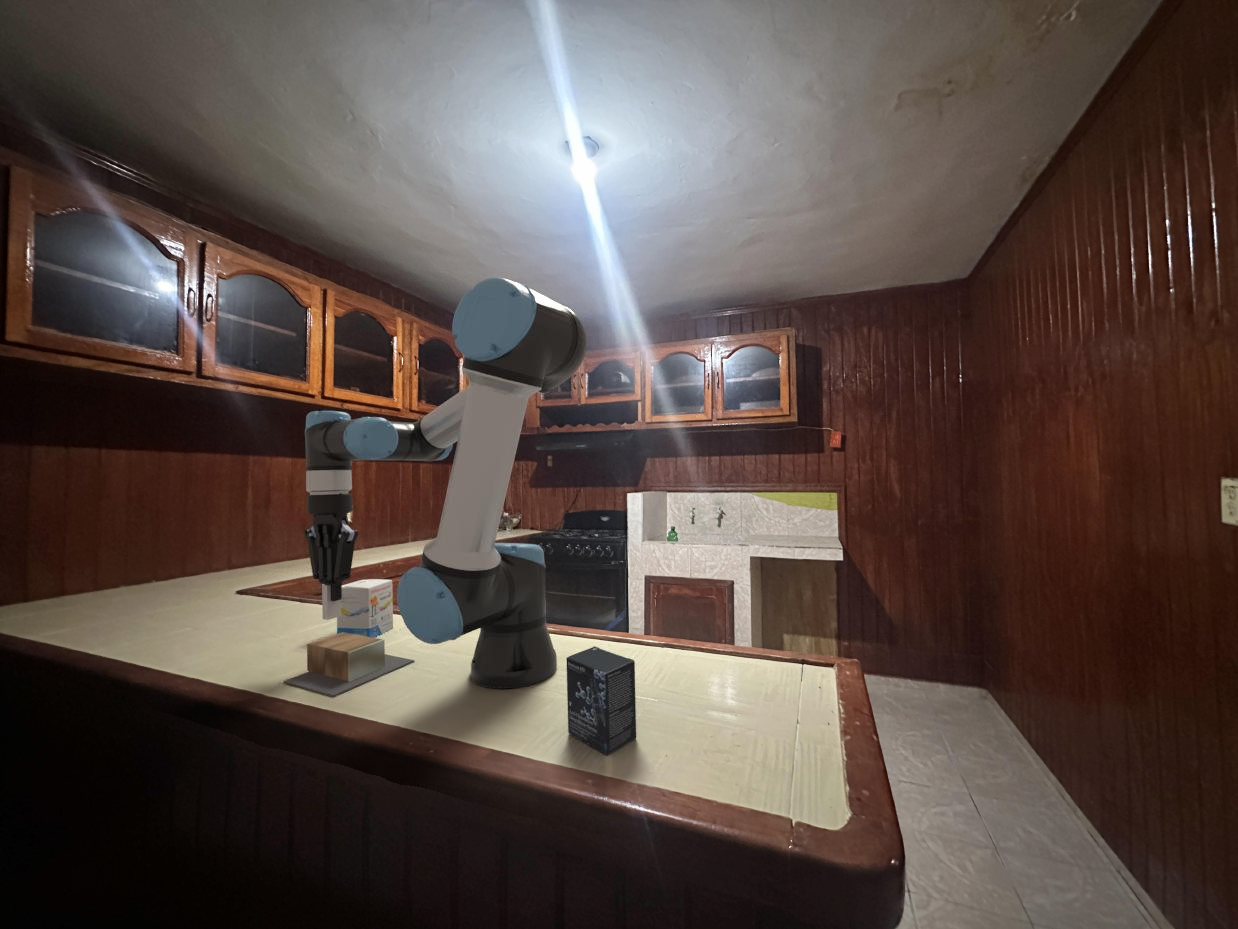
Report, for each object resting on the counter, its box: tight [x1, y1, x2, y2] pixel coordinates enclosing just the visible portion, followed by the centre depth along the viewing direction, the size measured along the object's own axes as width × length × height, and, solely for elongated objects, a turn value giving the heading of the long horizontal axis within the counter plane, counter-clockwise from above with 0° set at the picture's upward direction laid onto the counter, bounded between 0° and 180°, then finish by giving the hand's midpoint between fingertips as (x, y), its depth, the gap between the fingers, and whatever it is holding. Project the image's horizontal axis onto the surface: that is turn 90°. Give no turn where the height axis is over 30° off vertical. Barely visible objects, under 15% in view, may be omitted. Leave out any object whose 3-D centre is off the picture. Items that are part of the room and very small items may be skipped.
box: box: [565, 645, 637, 756], centre depth 65 cm, size 8×6×11 cm
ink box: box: [336, 578, 394, 638], centre depth 112 cm, size 9×8×12 cm
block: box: [306, 632, 386, 681], centre depth 90 cm, size 5×7×12 cm
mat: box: [282, 653, 415, 698], centre depth 89 cm, size 14×16×1 cm
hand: (332, 617), depth 92 cm, fingers closed
